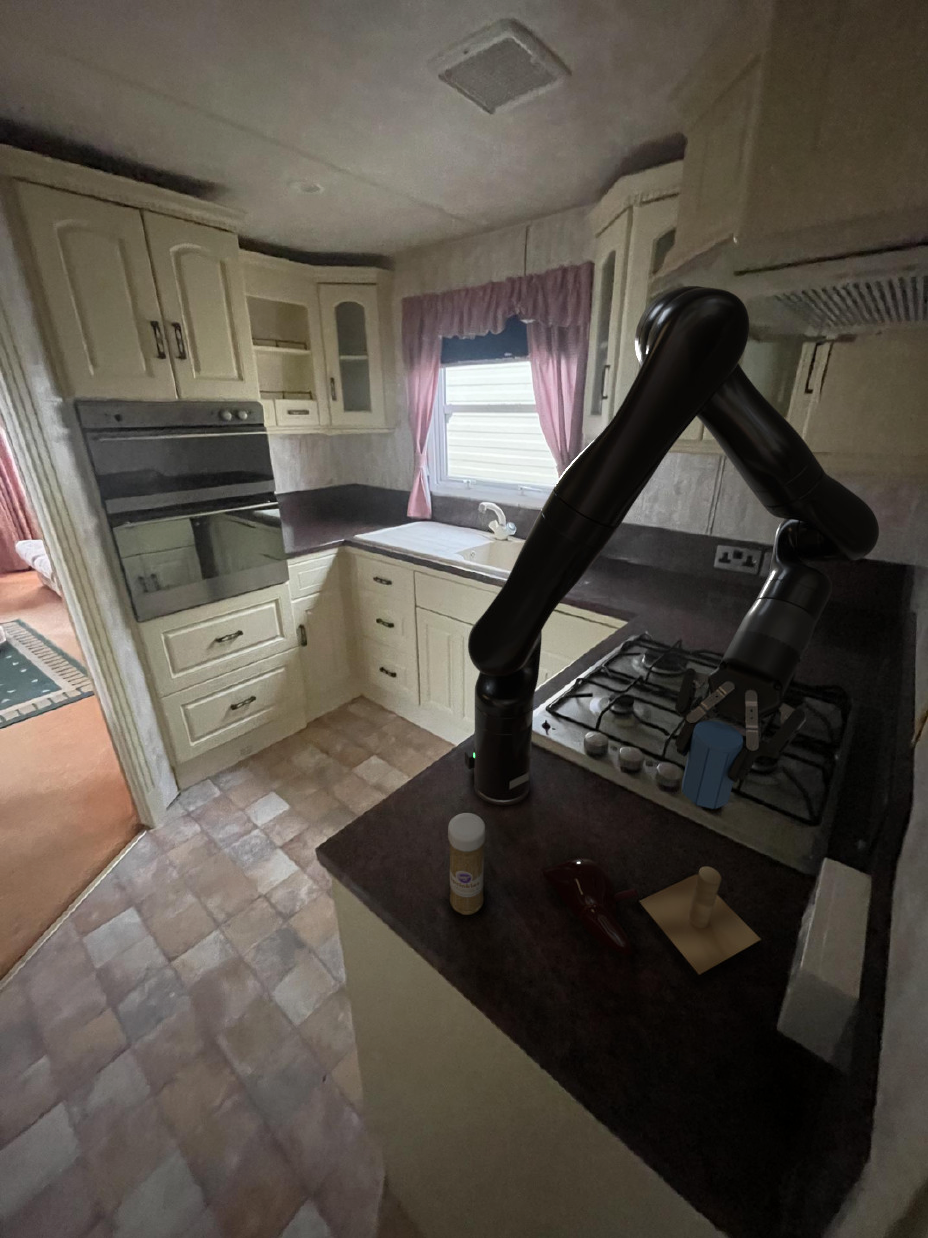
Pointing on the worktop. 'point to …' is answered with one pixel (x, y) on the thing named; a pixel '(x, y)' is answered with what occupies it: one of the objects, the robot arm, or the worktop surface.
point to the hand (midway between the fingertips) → (706, 766)
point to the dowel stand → (700, 920)
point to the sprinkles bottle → (466, 862)
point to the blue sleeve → (711, 763)
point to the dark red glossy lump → (592, 900)
